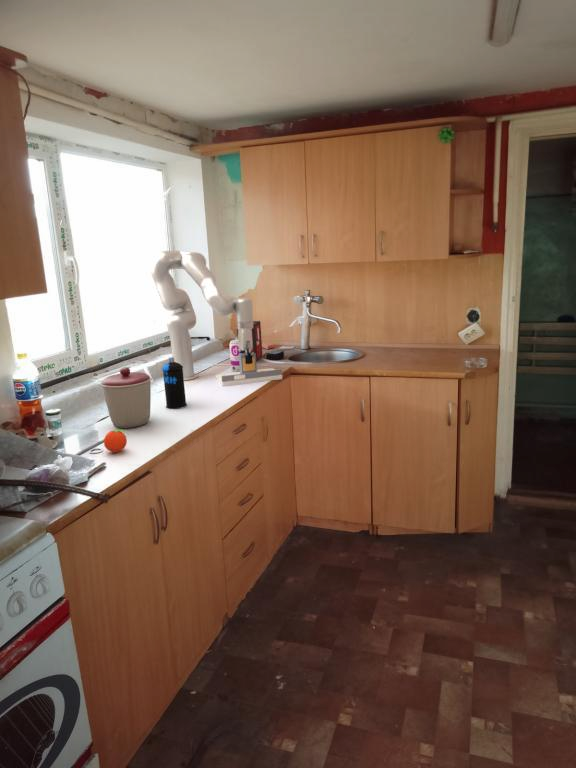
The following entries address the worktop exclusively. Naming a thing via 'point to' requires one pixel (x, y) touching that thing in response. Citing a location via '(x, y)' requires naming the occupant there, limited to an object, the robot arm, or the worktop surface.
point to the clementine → (115, 441)
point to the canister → (128, 398)
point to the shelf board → (249, 377)
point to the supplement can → (234, 355)
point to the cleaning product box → (256, 340)
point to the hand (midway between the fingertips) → (246, 361)
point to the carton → (247, 367)
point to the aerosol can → (174, 385)
